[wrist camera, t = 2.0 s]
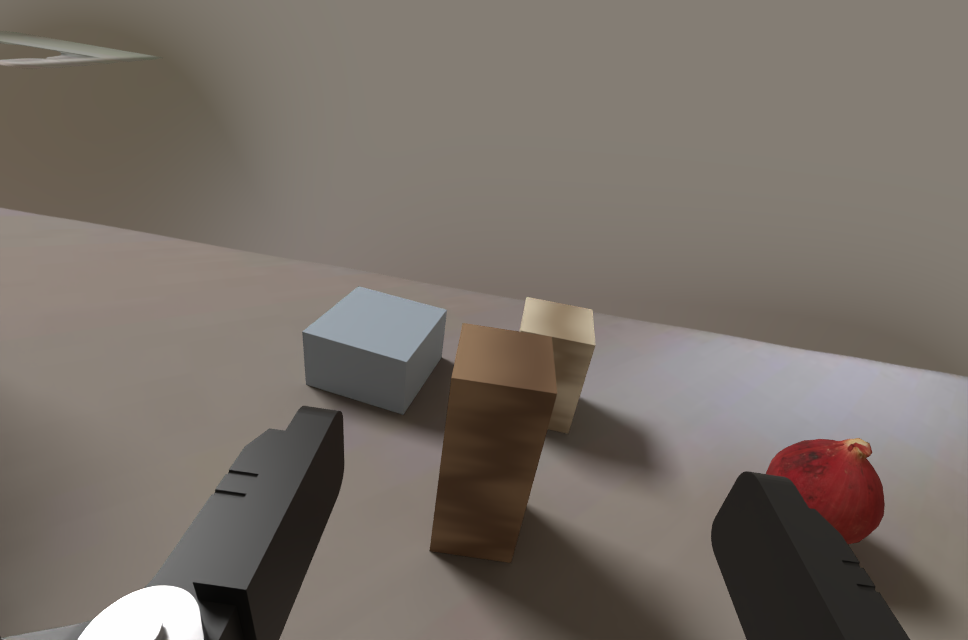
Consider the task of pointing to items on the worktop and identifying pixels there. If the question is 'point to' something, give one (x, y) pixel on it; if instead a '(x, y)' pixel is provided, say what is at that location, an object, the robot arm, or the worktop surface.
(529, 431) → the walnut block
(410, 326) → the base block
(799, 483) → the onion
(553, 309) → the birch block
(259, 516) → the robot arm
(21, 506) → the worktop surface
